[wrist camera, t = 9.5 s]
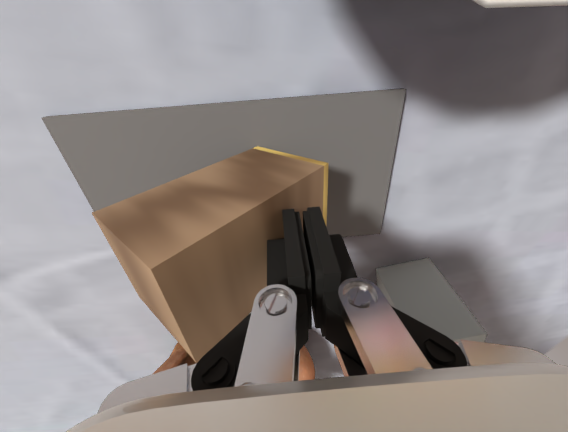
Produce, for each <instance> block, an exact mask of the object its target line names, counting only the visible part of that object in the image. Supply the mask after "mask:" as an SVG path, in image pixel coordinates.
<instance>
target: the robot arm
mask: <svg viewBox="0 0 568 432" xmlns="http://www.w3.org/2000/svg"><path fill="white" fill-rule="evenodd" d="M282 216H283V228H284V239H272V240H267V287H265V288H263V289H262V290H260V291H259V292H258V294H257V295H256V297H255V299H254V303H253V308H252V312H251V313H250V314H249V315H248V316H247V317H246V318H245V319H244V320H243V321H241V322H240V323H239V324H238V325H237V326H236V327H235V328H234V329H233V330H231V331H230V332H229V333H228V334H227V335H226V336H225V337H224V338H223V339H222V340H220V341H219V342H218V343H217V344H216V345H215V346H214V347H213V348H212V349H210V350H209V351H208V352H207V353H206V354H205V355H204V356H203V357H202V358H201V359H200V360H199V361H198V362H197V363H196V364H193V365H190V366H188V364H187V363H186V364H183V365H180V366H177V367H174V368H171V369H168V370H165V371H161V372H158V373H155V374H152V375H149V376H146V377H143V378H140V379H137V380H134V381H130V382H127V383H125V384H123V385H121V386H119V387H117V388H116V389H114V390H113V391H112V392H111V393H110V394H109V395H108V396H107V397H106V398H105V400H104V401H103V402H102V404H101V406H100V408H99V411H98V413H97V414H96V415H93V416H92V417H90V418H88V419H86V420H84V421H82V422H81V423H79V424H77V425H75V426H74V427H72V428H71V429H69V430H67V431H66V432H568V366H565V365H558V364H556V363H555V362H553V361H552V360H551V359H549V358H548V357H547V356H545V355H543V354H541V353H539V352H538V351H535V350H532V349H528V348H523V347H515V346H508V345H500V344H492V343H485V342H477V341H469V340H462V339H461V340H460V341H459V342H454V341H453V340H451V339H450V338H448V337H447V336H446V335H444V334H442V333H440V332H438V331H436V330H435V329H433V328H431V327H429V326H427V325H425V324H423V323H422V322H420V321H418V320H416V319H414V318H412V317H411V316H409V315H407V314H405V313H403V312H401V311H400V310H398V309H396V308H394V307H392V306H391V305H390V304H389V302H388V301H387V299H386V297H385V296H384V294H383V293H382V291H381V290H380V289H379V288H378V286H377V285H376V284H374V283H373V282H371V281H369V280H367V279H364V278H358V277H357V275H356V272H355V269H354V267H353V264H352V262H351V259H350V257H349V254H348V251H347V249H346V246H345V244H344V241H343V239H342V236H341V235H340V234H332V235H329V234H328V230H327V227H326V224H325V221H324V218H323V215H322V212H321V209H320V207H308V208H307V211H303V229H302V224H301V219H300V213H299V211H298V212H295V211H294V209H283V210H282ZM311 305H312V311H313V316H314V322H315V327H316V328H321V333H322V337H323V336H325V338H326V339H327V340H328V341H330V342H331V343H332V344H334V348H335V352H336V355H337V357H338V360H339V363H340V365H341V368H342V371H343V373H344V376H345V377H335V378H324V379H313V380H301V381H299V364H300V349H301V348H302V347H303V346H304V345H305V343H306V342H307V341H308V329H312V314H311Z"/></svg>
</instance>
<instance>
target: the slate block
mask: <svg viewBox="0 0 568 432" xmlns="http://www.w3.org/2000/svg"><path fill="white" fill-rule="evenodd" d="M376 276H377V286H378V288H379V289H380V290H381V291H382V293H383V294H384V296H385V297H386V299H387V301H388V302H389V304H390V305H391V306H392V307H394V308H396V309H398V310H400V311H401V312H403V313H405V314H407V315H409V316H411V317H412V318H414V319H416V320H418V321H420V322H422V323H423V324H425V325H427V326H429V327H431V328H433V329H435V330H436V331H438V332H440V333H442V334H444V335H446V336H447V337H448V338H450V339H451V340H453V341H454V342H459V341H460V340H461V339H462V340H469V341H477V342H485V339H486V336H487V333H486V331H485V330H484V329H483V328H482V326H481V325H480V324H479V322H478V321H477V320H476V318H475V317H474V316H473V315H472V313H471V312H470V311H469V309H468V308H467V307H466V305H465V304H464V303H463V301H462V300H461V299H460V298H459V296H458V295H457V294H456V292H455V291H454V290H453V288H452V287H451V286H450V284H449V283H448V282H447V281H446V279H445V278H444V277H443V275H442V274H441V273H440V271H439V270H438V269H437V267H436V266H435V265H434V264H433V262H432V261H431V260H430V258H424V259H420V260H415V261H410V262H405V263H400V264H395V265H391V266H386V267H381V268H376Z"/></svg>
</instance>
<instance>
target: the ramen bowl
mask: <svg viewBox="0 0 568 432" xmlns="http://www.w3.org/2000/svg"><path fill="white" fill-rule="evenodd" d="M472 1H474V2H476V3H477V4H479V5H481V6H482V7H484V8H501V7H537V6H568V0H472Z"/></svg>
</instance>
